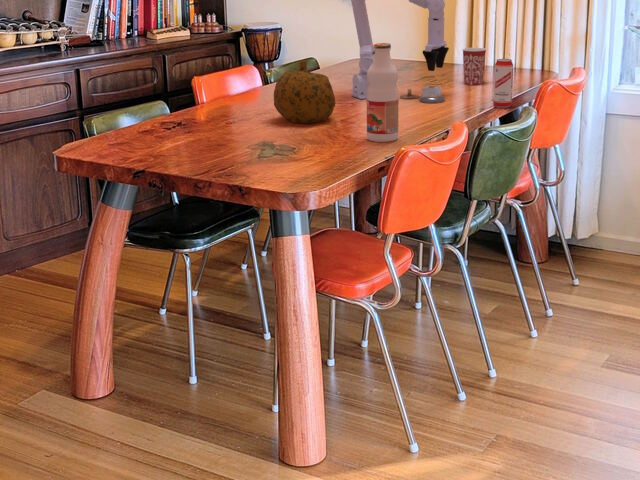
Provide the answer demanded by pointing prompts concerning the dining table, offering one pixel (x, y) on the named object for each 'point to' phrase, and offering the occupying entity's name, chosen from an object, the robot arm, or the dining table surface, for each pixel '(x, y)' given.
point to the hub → (432, 99)
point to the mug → (473, 65)
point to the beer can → (503, 83)
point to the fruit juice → (382, 96)
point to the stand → (409, 95)
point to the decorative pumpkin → (304, 96)
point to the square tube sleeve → (431, 91)
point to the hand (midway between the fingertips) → (435, 69)
